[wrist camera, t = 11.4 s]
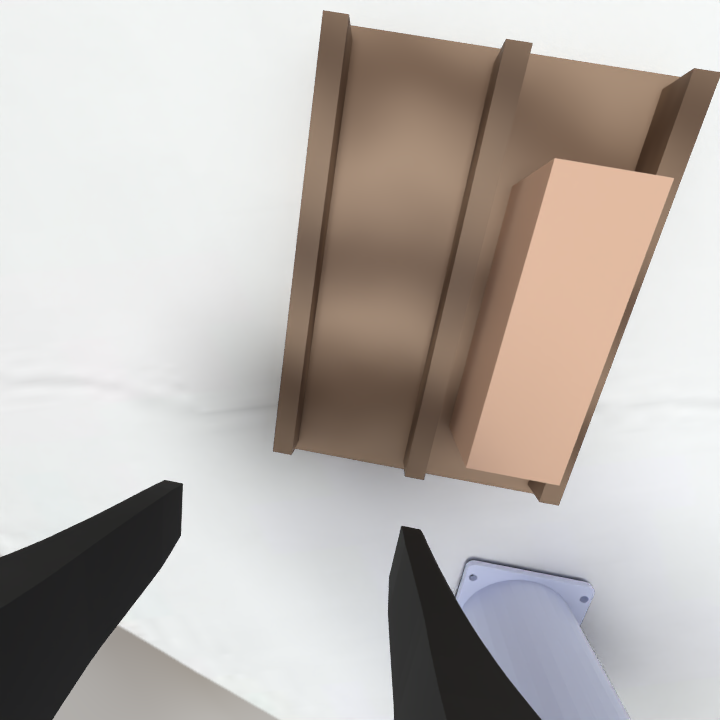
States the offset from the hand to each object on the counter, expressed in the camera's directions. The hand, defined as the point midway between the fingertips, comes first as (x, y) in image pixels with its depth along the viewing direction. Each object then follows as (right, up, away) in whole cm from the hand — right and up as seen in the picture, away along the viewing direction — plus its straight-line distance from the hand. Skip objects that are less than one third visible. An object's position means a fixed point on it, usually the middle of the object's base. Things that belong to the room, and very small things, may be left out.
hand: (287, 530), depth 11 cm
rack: (+7, +9, +7) cm, 13 cm away
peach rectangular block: (+10, +7, +6) cm, 14 cm away
